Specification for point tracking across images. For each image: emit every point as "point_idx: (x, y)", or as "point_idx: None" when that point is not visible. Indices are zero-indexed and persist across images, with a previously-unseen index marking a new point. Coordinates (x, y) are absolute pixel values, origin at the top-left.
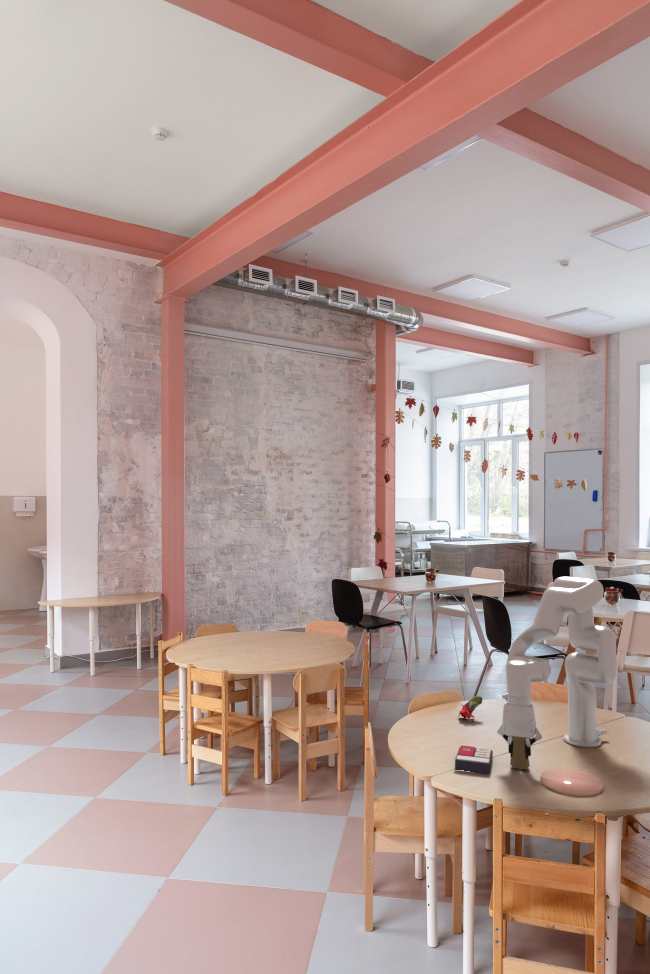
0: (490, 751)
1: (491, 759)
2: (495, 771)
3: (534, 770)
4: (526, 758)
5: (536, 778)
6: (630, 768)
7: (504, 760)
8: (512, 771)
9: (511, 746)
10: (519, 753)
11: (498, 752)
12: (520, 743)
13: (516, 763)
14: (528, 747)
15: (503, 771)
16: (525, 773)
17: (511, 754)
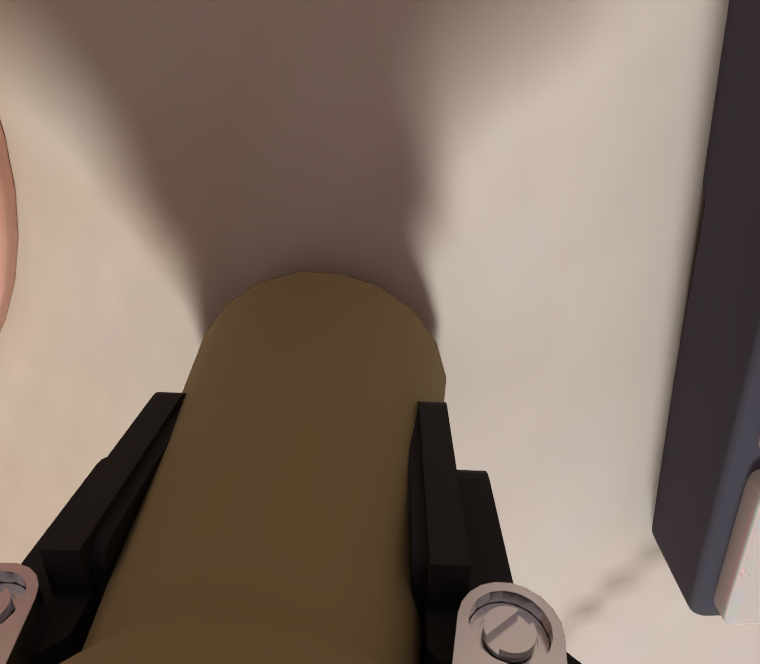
0: (749, 538)
1: (725, 362)
2: (636, 143)
3: (158, 372)
4: (171, 394)
5: (52, 119)
6: None
7: (520, 515)
8: (401, 240)
9: (438, 534)
10: (262, 410)
11: (585, 660)
12: (171, 606)
13: (341, 308)
14: (50, 574)
15: (520, 191)
16: (231, 239)
17: (430, 422)
